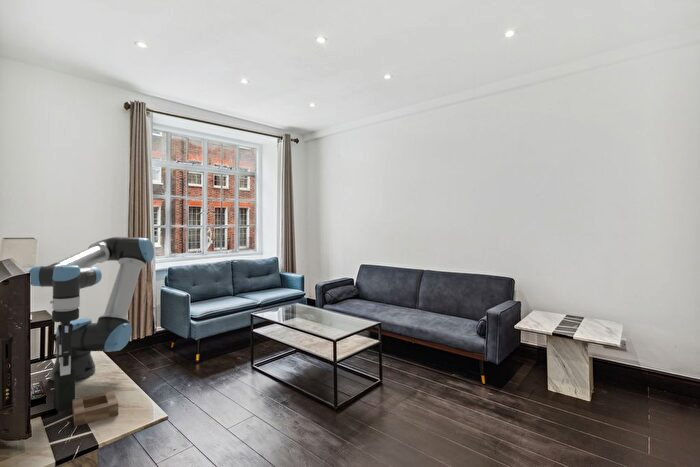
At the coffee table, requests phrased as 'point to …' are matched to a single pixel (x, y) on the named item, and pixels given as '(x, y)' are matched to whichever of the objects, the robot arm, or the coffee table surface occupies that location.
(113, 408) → the block
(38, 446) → the coffee table surface
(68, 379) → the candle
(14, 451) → the coffee table surface
